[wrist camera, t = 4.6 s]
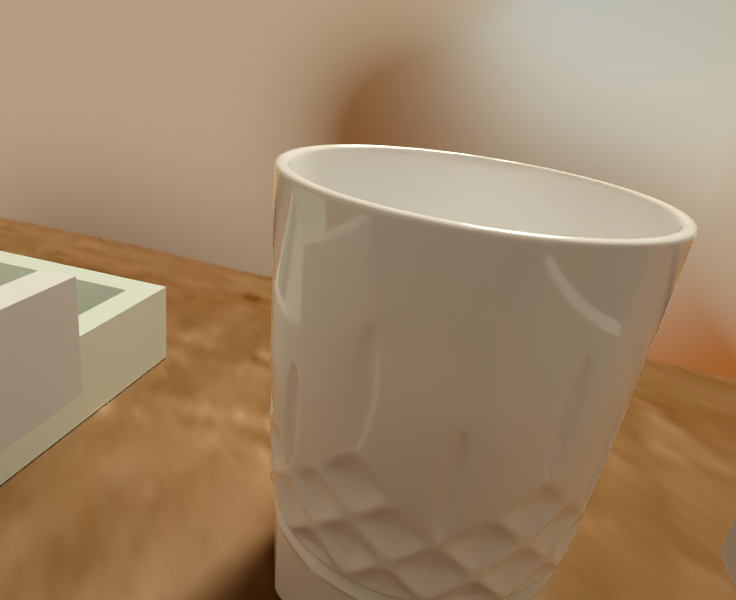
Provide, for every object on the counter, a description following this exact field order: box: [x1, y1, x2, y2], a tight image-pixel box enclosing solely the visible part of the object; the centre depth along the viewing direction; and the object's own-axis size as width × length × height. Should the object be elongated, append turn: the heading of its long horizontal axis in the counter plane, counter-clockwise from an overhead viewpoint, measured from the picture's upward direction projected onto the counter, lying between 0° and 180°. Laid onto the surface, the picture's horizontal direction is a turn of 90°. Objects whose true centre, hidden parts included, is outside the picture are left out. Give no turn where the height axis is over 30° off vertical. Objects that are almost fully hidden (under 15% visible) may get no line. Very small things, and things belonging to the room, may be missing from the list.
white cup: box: [270, 144, 698, 600], centre depth 13 cm, size 8×8×10 cm
